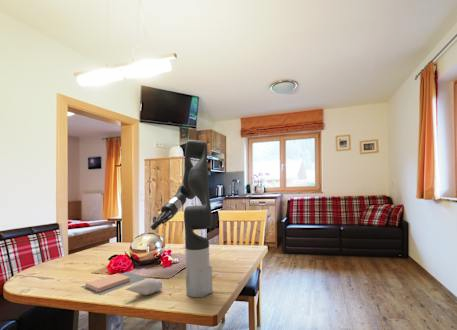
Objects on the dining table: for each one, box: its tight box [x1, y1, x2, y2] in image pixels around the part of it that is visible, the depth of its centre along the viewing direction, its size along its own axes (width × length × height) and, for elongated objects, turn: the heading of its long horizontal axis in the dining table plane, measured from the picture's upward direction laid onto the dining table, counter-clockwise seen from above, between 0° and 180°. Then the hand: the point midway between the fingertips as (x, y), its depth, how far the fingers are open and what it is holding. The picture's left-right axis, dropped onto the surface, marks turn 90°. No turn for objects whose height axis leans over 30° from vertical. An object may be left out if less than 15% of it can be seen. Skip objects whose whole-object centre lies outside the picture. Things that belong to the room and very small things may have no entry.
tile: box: [85, 272, 130, 292], centre depth 113 cm, size 10×2×14 cm
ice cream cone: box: [124, 277, 163, 296], centre depth 102 cm, size 6×6×15 cm
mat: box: [80, 271, 148, 296], centre depth 116 cm, size 16×22×1 cm
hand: (152, 228), depth 127 cm, fingers closed
